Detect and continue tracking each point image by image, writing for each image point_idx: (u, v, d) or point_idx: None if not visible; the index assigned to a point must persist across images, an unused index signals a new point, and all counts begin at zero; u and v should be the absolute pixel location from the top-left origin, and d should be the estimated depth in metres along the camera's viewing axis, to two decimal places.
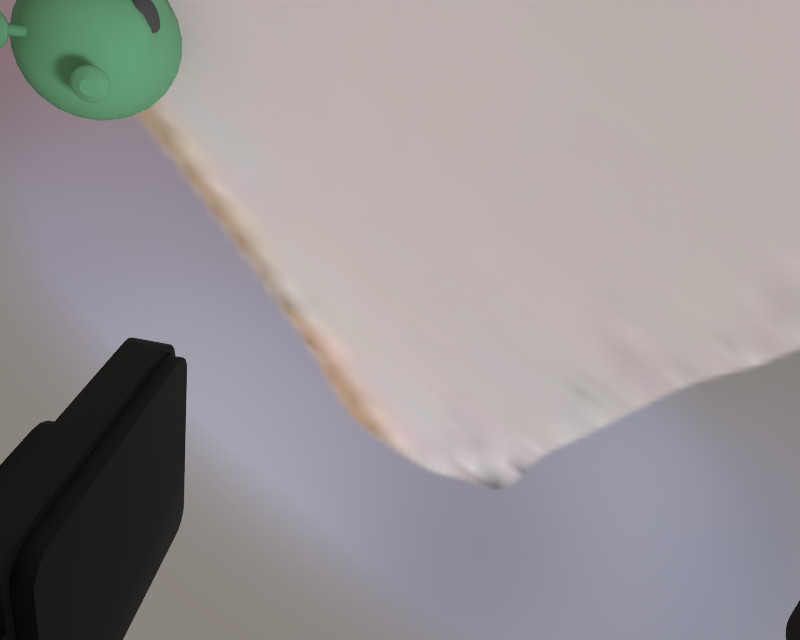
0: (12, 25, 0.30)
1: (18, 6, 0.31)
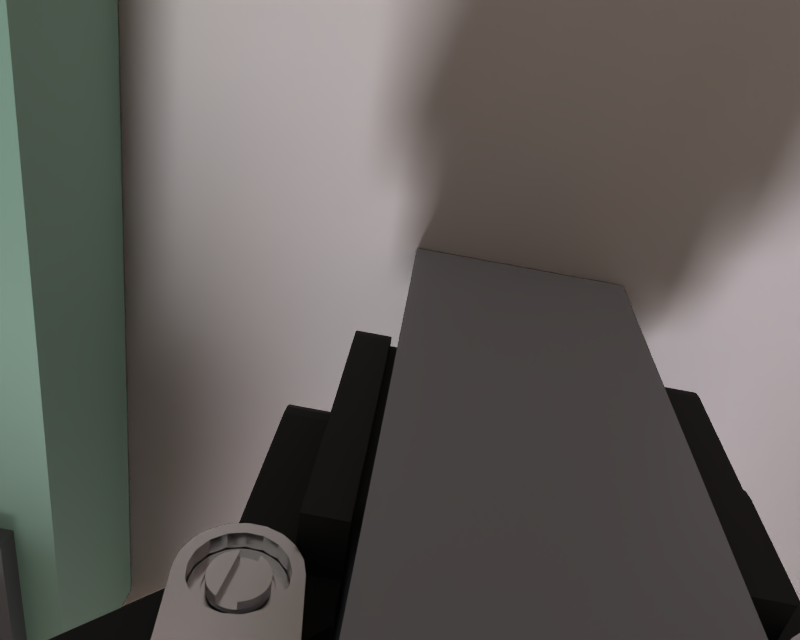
0: None
1: None
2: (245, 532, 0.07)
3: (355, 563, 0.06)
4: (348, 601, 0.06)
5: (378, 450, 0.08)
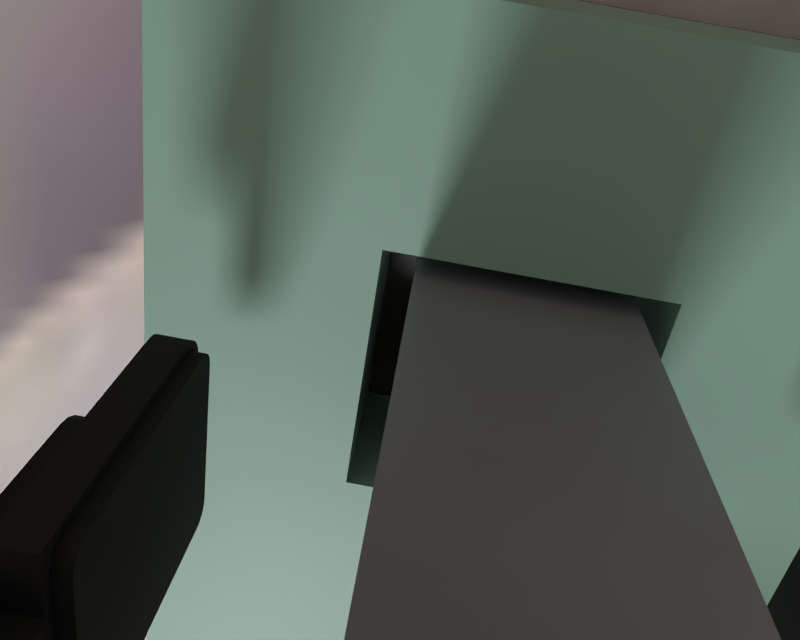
0: None
1: None
2: None
3: (382, 446, 0.08)
4: (377, 471, 0.07)
5: (397, 367, 0.09)
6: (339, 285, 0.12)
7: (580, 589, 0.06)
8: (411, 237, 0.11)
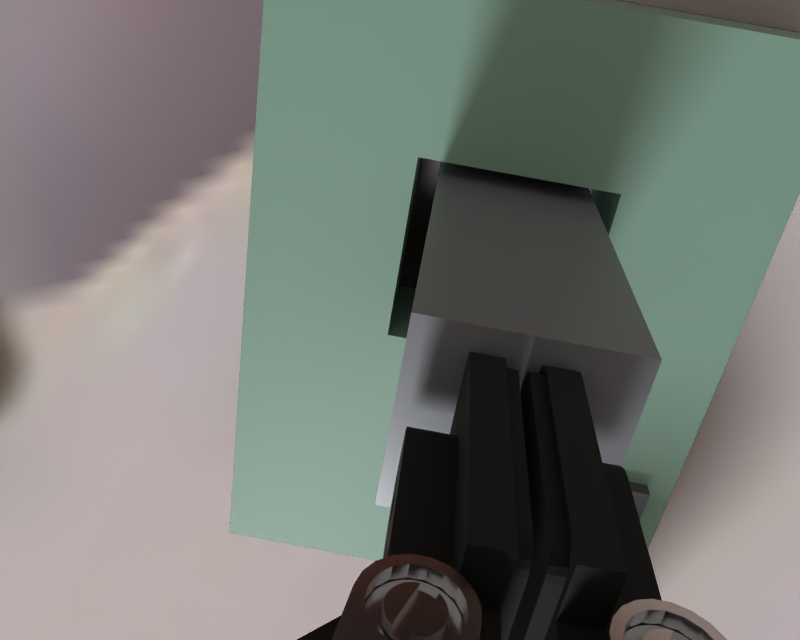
0: None
1: None
2: (411, 563, 0.07)
3: (425, 244, 0.13)
4: (424, 252, 0.13)
5: (431, 214, 0.14)
6: (388, 183, 0.17)
7: (538, 298, 0.12)
8: (437, 148, 0.16)
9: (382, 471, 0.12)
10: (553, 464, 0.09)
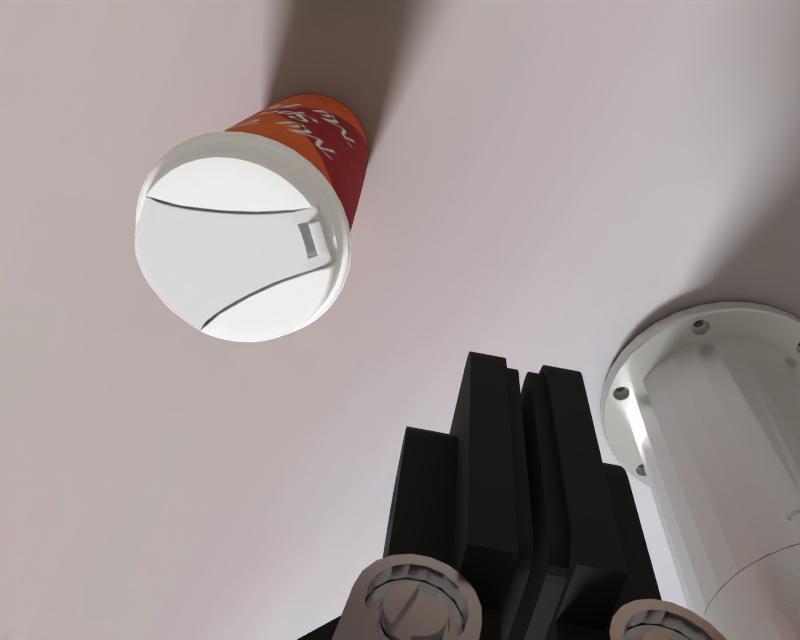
0: None
1: None
2: (411, 563, 0.07)
3: None
4: None
5: None
6: None
7: None
8: None
9: None
10: (553, 464, 0.09)
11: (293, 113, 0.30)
